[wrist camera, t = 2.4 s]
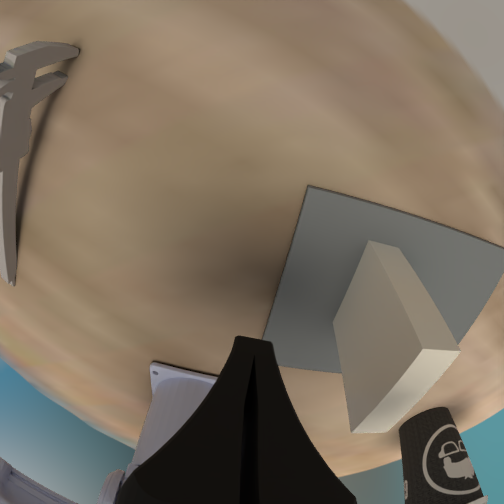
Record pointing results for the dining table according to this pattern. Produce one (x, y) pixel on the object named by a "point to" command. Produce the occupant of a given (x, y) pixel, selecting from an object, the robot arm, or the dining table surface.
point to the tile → (388, 340)
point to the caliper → (21, 127)
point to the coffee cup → (437, 462)
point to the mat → (347, 260)
